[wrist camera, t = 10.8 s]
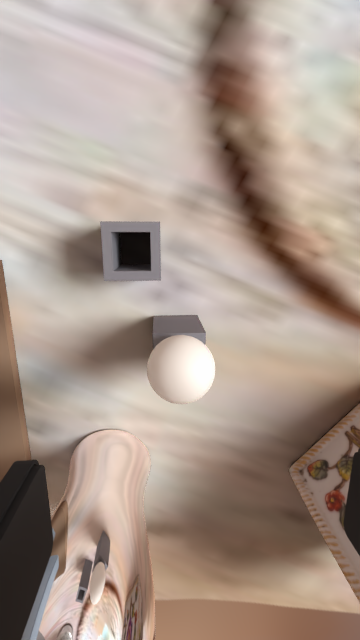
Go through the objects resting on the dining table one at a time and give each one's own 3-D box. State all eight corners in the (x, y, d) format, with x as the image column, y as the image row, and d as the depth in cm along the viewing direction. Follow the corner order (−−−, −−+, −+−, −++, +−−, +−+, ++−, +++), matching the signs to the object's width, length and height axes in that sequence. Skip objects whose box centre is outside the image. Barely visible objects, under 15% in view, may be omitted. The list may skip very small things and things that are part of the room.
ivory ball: (147, 327, 18) (144, 349, 14) (210, 326, 18) (222, 348, 14) (148, 384, 19) (146, 419, 15) (208, 383, 19) (219, 416, 15)
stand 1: (111, 224, 20) (100, 221, 16) (159, 224, 20) (159, 221, 16) (114, 272, 20) (104, 280, 16) (160, 271, 21) (160, 280, 17)
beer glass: (47, 466, 24) (-124, 820, 9) (106, 406, 23) (17, 699, 8) (116, 513, 26) (61, 876, 11) (174, 458, 24) (198, 779, 10)
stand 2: (153, 315, 21) (152, 333, 17) (197, 315, 21) (205, 332, 18) (154, 356, 22) (153, 382, 18) (196, 355, 22) (204, 381, 18)
